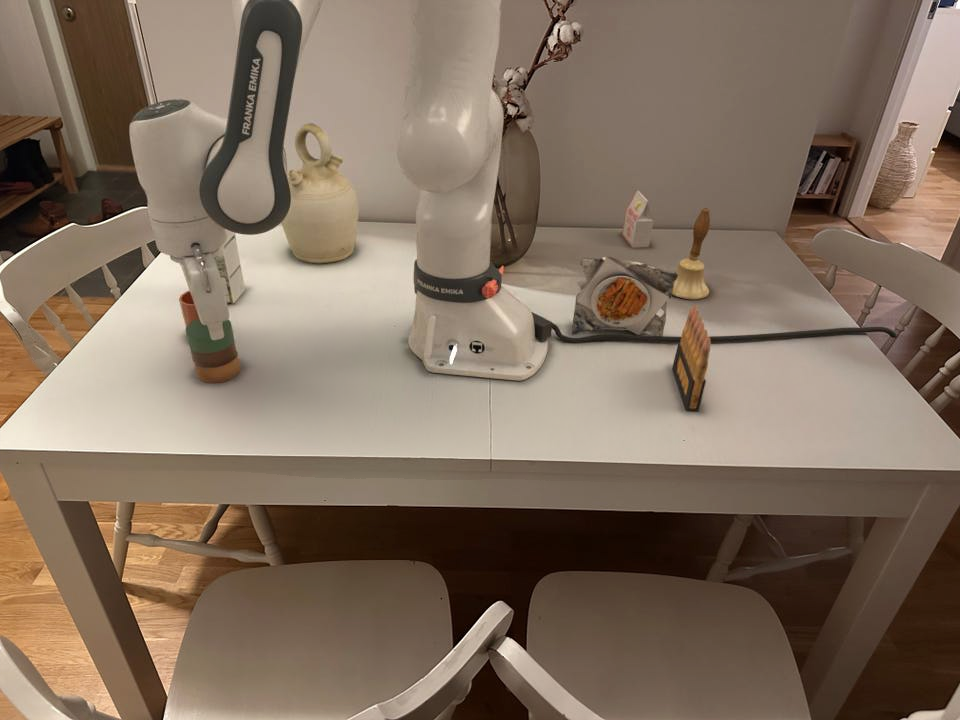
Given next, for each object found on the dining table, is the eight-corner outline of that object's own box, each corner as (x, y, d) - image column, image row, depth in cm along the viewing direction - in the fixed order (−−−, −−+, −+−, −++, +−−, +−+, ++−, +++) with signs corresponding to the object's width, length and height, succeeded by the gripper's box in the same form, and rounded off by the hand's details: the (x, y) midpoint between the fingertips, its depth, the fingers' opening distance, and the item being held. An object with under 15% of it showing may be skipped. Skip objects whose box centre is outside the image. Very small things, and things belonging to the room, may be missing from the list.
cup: (231, 329, 113) (224, 291, 109) (210, 346, 108) (201, 307, 105) (203, 323, 114) (194, 285, 110) (181, 339, 110) (171, 301, 106)
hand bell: (692, 277, 134) (711, 198, 125) (717, 296, 128) (738, 215, 119) (655, 282, 132) (671, 202, 123) (679, 302, 125) (697, 220, 116)
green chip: (242, 335, 102) (239, 320, 100) (217, 356, 97) (213, 341, 96) (206, 327, 103) (203, 312, 102) (179, 348, 98) (175, 332, 97)
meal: (571, 335, 115) (580, 264, 107) (572, 323, 118) (581, 253, 111) (662, 346, 113) (678, 274, 105) (661, 332, 116) (676, 262, 109)
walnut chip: (245, 348, 104) (242, 334, 102) (220, 371, 99) (216, 355, 97) (210, 341, 105) (206, 326, 104) (183, 362, 100) (179, 347, 99)
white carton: (638, 234, 151) (645, 190, 145) (648, 247, 145) (657, 201, 140) (622, 234, 150) (629, 190, 145) (632, 247, 145) (639, 202, 139)
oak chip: (248, 364, 105) (246, 349, 103) (224, 386, 100) (221, 371, 98) (213, 356, 106) (210, 342, 105) (188, 378, 101) (184, 363, 100)
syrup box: (246, 289, 124) (233, 213, 116) (233, 305, 119) (218, 227, 111) (216, 286, 125) (200, 211, 117) (201, 302, 120) (184, 224, 112)
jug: (334, 229, 148) (323, 109, 134) (376, 253, 138) (369, 127, 124) (269, 247, 139) (250, 121, 125) (310, 275, 130) (294, 141, 116)
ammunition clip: (671, 368, 107) (687, 301, 101) (683, 369, 107) (699, 301, 101) (685, 410, 99) (703, 340, 92) (698, 411, 99) (717, 340, 92)
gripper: (229, 257, 84) (249, 351, 92) (202, 202, 99) (221, 287, 107) (174, 267, 82) (199, 363, 89) (155, 209, 97) (178, 295, 104)
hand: (211, 321), depth 98 cm, fingers open, 8 cm apart
